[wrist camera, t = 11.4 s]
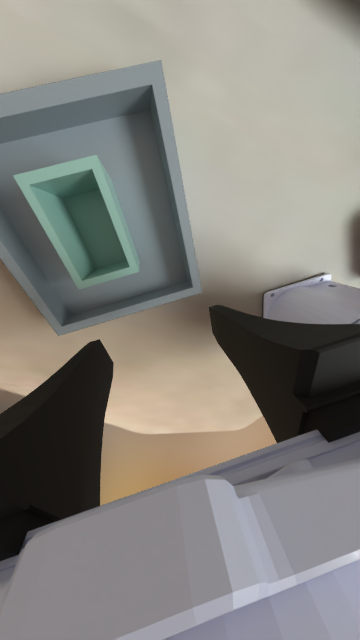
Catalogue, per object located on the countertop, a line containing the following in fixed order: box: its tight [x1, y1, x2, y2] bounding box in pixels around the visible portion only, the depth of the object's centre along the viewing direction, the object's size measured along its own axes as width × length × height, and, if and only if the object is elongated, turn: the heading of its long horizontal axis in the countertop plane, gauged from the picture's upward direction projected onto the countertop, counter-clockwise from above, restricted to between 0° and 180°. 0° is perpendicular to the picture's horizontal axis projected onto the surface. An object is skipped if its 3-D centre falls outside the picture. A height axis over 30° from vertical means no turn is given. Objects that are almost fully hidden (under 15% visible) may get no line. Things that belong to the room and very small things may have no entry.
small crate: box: [13, 155, 140, 289], centre depth 13 cm, size 4×6×5 cm
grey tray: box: [0, 60, 202, 336], centre depth 14 cm, size 15×15×3 cm
